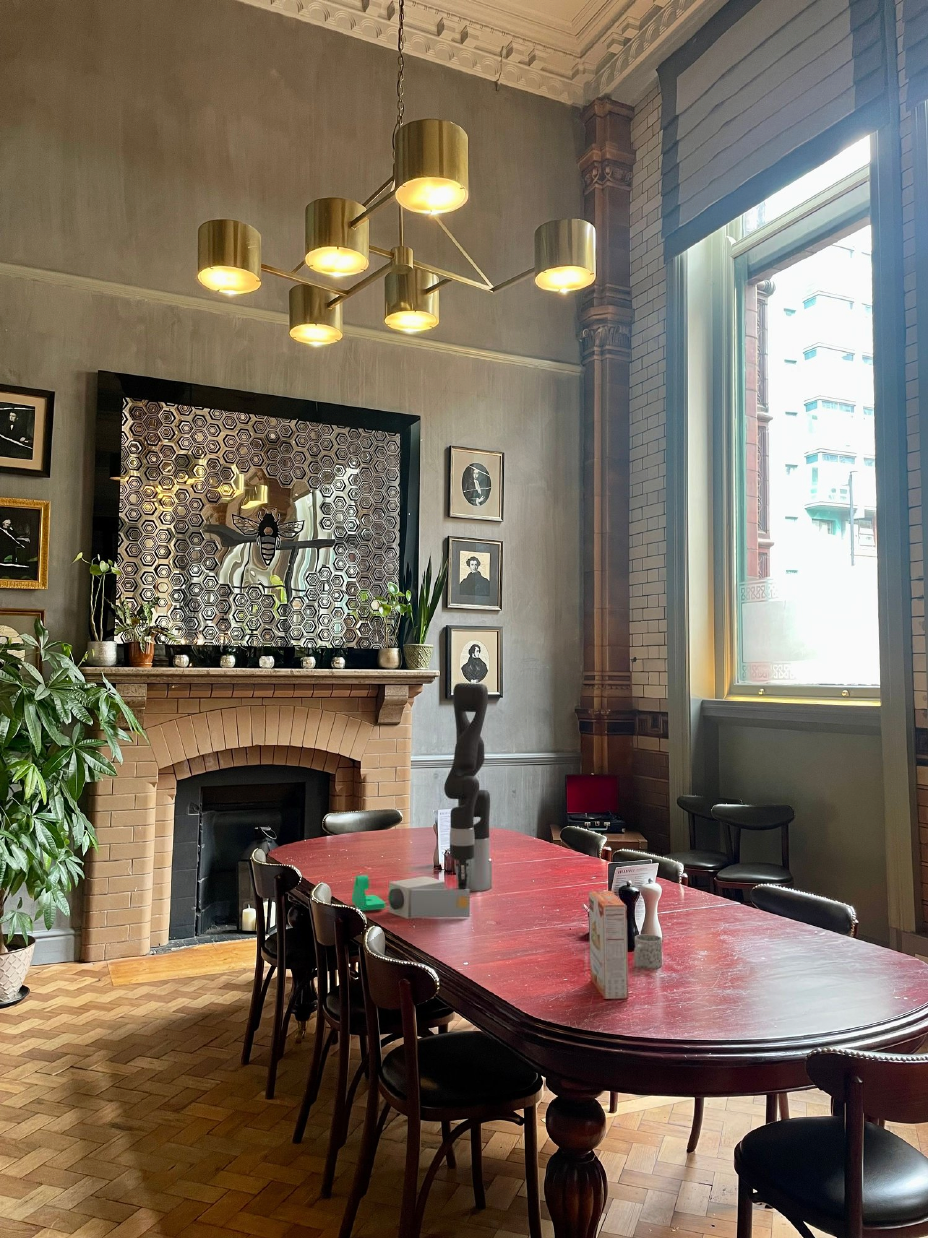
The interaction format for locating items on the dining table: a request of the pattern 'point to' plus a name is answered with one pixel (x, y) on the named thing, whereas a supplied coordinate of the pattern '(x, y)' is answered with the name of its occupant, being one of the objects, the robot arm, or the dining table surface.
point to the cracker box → (608, 944)
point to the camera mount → (361, 899)
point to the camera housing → (401, 892)
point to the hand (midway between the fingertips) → (462, 900)
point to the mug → (648, 951)
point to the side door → (439, 903)
